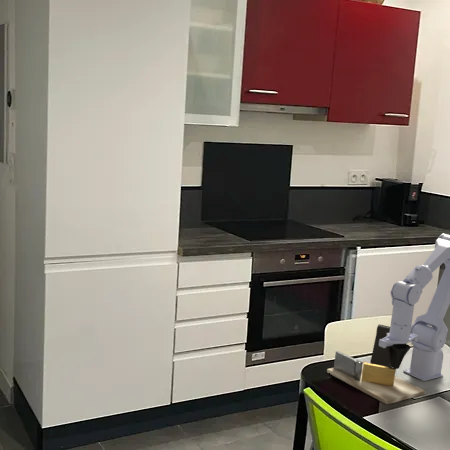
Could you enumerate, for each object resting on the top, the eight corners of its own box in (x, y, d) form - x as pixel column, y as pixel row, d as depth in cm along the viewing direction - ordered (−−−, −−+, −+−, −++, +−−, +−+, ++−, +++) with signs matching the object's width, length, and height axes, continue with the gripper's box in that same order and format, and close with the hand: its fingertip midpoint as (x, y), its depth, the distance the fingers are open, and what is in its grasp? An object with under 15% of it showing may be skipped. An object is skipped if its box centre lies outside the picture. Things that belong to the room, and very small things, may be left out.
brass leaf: (361, 378, 188) (364, 362, 187) (393, 384, 186) (395, 368, 185) (361, 380, 187) (363, 363, 186) (393, 386, 185) (395, 369, 184)
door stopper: (388, 369, 201) (393, 332, 199) (369, 364, 204) (374, 328, 202) (395, 360, 209) (400, 325, 207) (377, 356, 211) (381, 321, 209)
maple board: (364, 364, 203) (364, 361, 203) (424, 394, 185) (425, 390, 184) (326, 372, 194) (327, 368, 194) (386, 404, 175) (387, 401, 175)
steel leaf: (337, 367, 196) (339, 350, 195) (361, 380, 188) (364, 362, 187) (333, 368, 195) (335, 351, 194) (357, 381, 187) (359, 363, 186)
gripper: (406, 316, 194) (400, 359, 196) (373, 321, 186) (367, 366, 188) (425, 323, 188) (419, 367, 191) (392, 329, 180) (385, 375, 182)
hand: (394, 367), depth 189 cm, fingers closed
